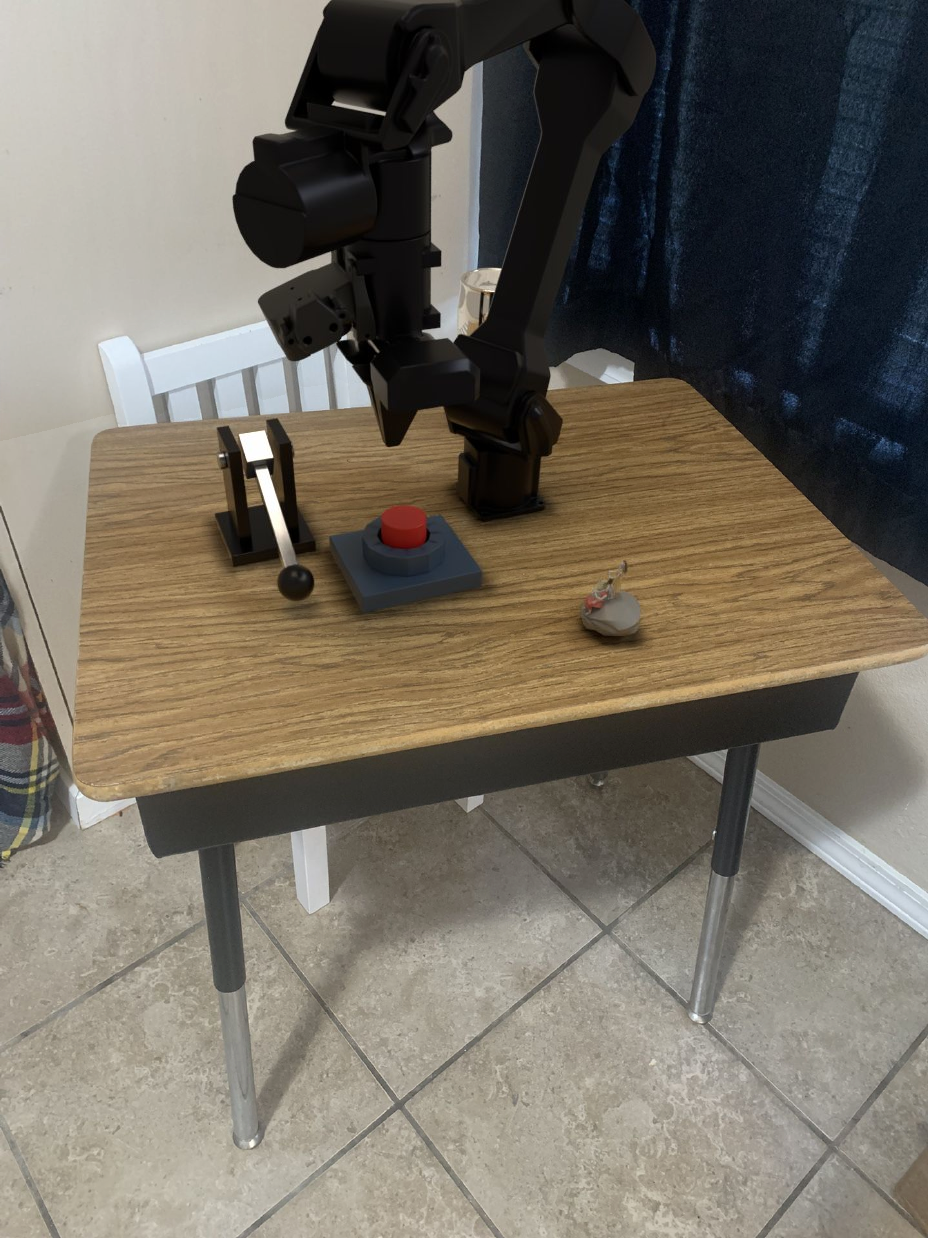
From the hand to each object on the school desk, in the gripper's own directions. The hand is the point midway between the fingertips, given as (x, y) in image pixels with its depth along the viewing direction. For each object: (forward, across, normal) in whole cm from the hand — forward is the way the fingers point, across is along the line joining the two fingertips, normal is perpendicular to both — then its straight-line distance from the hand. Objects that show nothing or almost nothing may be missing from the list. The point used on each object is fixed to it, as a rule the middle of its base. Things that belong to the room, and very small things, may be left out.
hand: (391, 444), depth 73 cm
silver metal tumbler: (+12, -22, +18) cm, 31 cm away
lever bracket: (+12, -9, -9) cm, 17 cm away
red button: (+9, 0, +1) cm, 9 cm away
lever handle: (+8, -4, -9) cm, 12 cm away
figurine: (+12, +12, +13) cm, 21 cm away
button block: (+12, 0, +1) cm, 12 cm away
